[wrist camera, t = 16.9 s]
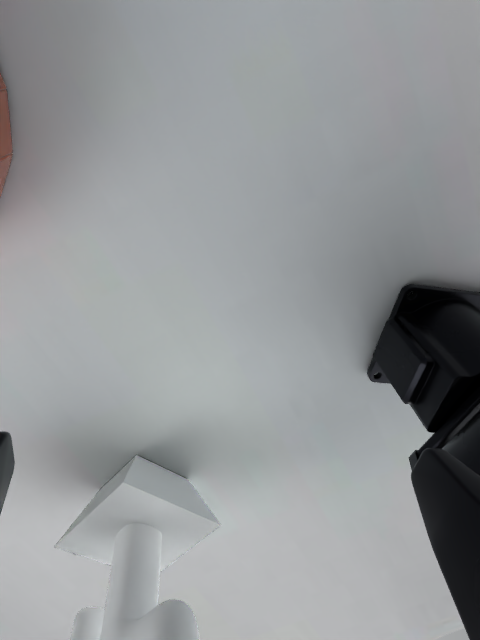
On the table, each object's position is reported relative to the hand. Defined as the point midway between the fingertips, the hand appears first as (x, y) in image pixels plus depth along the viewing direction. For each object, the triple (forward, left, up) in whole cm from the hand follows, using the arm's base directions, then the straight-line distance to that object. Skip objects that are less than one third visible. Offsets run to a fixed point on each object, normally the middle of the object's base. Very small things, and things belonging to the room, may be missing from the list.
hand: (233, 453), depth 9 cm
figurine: (+2, +18, -13) cm, 22 cm away
